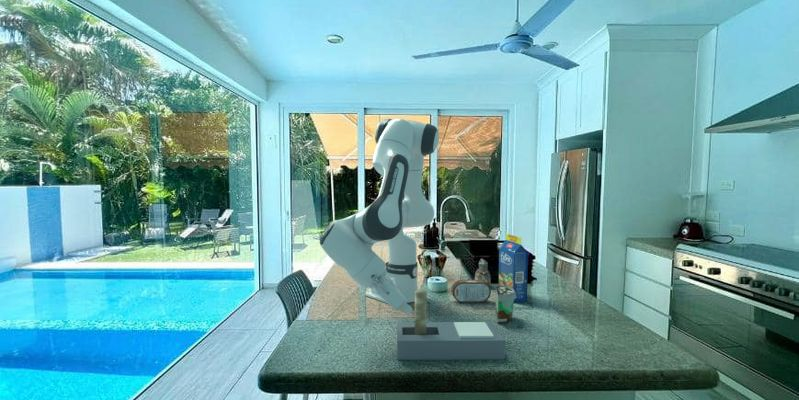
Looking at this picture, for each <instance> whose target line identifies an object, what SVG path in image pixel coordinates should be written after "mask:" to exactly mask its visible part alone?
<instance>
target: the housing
mask: <svg viewBox="0 0 799 400" xmlns="http://www.w3.org/2000/svg"><path fill="white" fill-rule="evenodd" d="M505 350H506V340H505V338H504V337H503V335H502V334H501V333H500V331H499V330H498V328H497V327H496V326H495V324H494V322H492V321H433V322H432V321H426V335H415V321H414V322H413V321H404V322H403V321H402V322H401V321H399V322H398V321H397V322H396V360H398V361H401V360H402V361H403V360H405V361H409V360H410V361H412V360H414V361H418V360H425V361H426V360H429V361H433V360H435V361H436V360H439V361H440V360H442V361H443V360H447V361H448V360H450V361H451V360H457V361H458V360H505V359H506V358H505V357H506V356H505V355H506V353H505Z"/></svg>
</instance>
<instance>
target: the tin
mask: <svg viewBox="0 0 799 400" xmlns="http://www.w3.org/2000/svg"><path fill="white" fill-rule="evenodd" d="M450 291H451V294H452V296H453V298H454V299H455V300H456V301H457V302H459V303H484V302H486V301H488V300H489V299H490V297H491V293H492V289H491V287H489V285H488V284H487V283H486V282H485V281H483V280H475V279H458V280H456V281H455V282H454V283H453V284H452V286H451V290H450Z"/></svg>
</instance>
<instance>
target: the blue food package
mask: <svg viewBox="0 0 799 400" xmlns="http://www.w3.org/2000/svg"><path fill="white" fill-rule="evenodd" d="M505 235H506V236H505V240H504V241H503V243H502V244H501V245H500V247H499V251H498V285H504V286H508V287H511V288H513V289H514V291H515V294H516V298H515V299H514V303H523V302H528V270H529V268H528V266H529V259H528V257H529V256H528V251H527V250H526V249H525V247H524V246H523V244H522V237H520V236H517V235H513V234H510V233H508V232H507V233H505Z"/></svg>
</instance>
